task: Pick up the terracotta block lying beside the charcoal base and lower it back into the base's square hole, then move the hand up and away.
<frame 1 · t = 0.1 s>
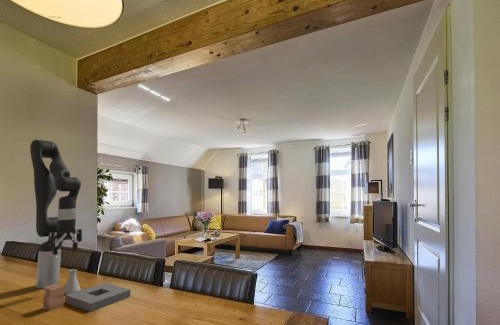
hand: (65, 253, 133), 17 cm above the table, tool pointing down, fingers open, 8 cm apart
charcoal base: (98, 299, 121), on the table
flask: (71, 292, 130), on the table
terracotta block: (53, 307, 113), on the table
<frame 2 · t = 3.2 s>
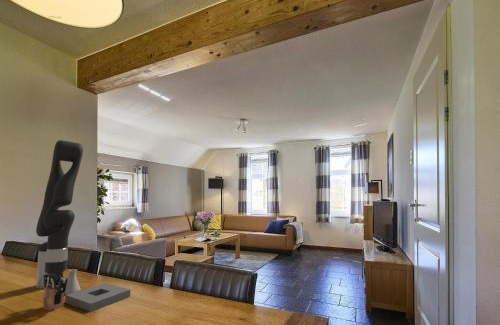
hand: (53, 302, 113), 2 cm above the table, tool pointing down, fingers closed on terracotta block, 5 cm apart
terracotta block: (53, 307, 113), on the table, touching gripper
everything else where it was.
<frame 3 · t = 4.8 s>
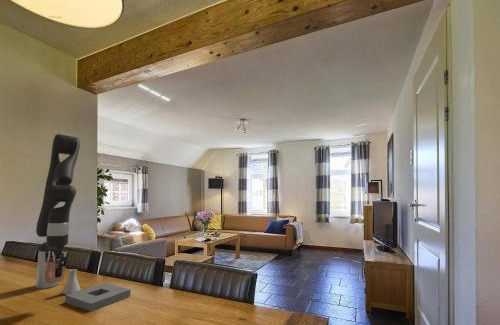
hand: (54, 275, 114), 12 cm above the table, tool pointing down, fingers closed on terracotta block, 5 cm apart
terracotta block: (54, 280, 114), point 10 cm above the table, touching gripper
everything else where it was.
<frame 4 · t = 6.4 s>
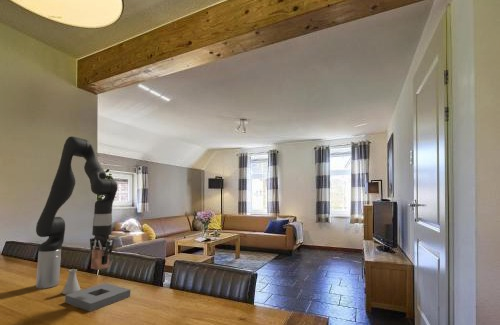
hand: (100, 263, 123), 15 cm above the table, tool pointing down, fingers closed on terracotta block, 5 cm apart
terracotta block: (100, 267, 122), point 13 cm above the table, touching gripper
everything else where it was.
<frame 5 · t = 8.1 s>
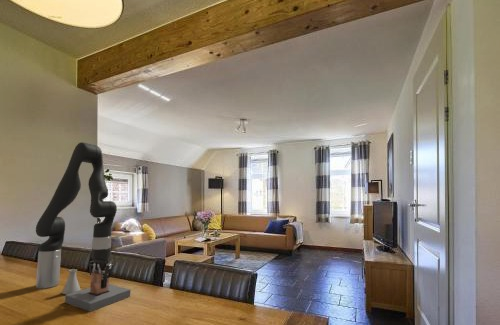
hand: (99, 286, 122), 5 cm above the table, tool pointing down, fingers closed on terracotta block, 5 cm apart
terracotta block: (99, 291, 122), point 3 cm above the table, touching gripper
everything else where it was.
when the fingers open (4 cm above the table, at t = 9.3 s): terracotta block drops 2 cm, resting in charcoal base.
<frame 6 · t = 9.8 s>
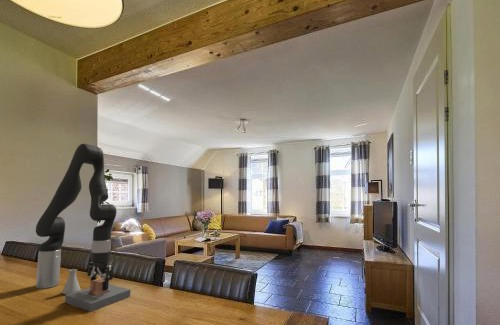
hand: (99, 288, 122), 5 cm above the table, tool pointing down, fingers open, 8 cm apart
terracotta block: (98, 299, 121), resting in charcoal base
everything else where it was.
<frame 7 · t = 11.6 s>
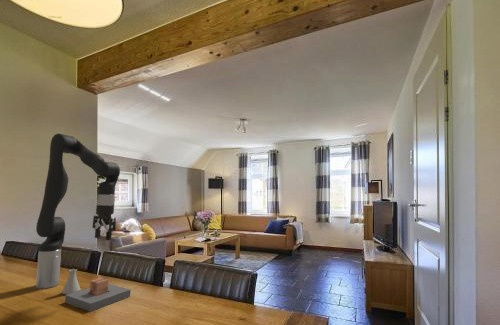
hand: (102, 238, 131), 24 cm above the table, tool pointing down, fingers open, 8 cm apart
nothing on the table moved.
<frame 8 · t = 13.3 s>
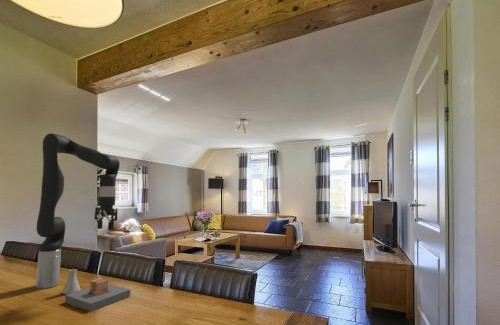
hand: (105, 229, 136), 28 cm above the table, tool pointing down, fingers open, 8 cm apart
nothing on the table moved.
at the end: terracotta block 0.1 cm off-centre on the charcoal base, point 0.0 cm above the charcoal base's base; terracotta block tilted 0°; the gripper is holding nothing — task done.
